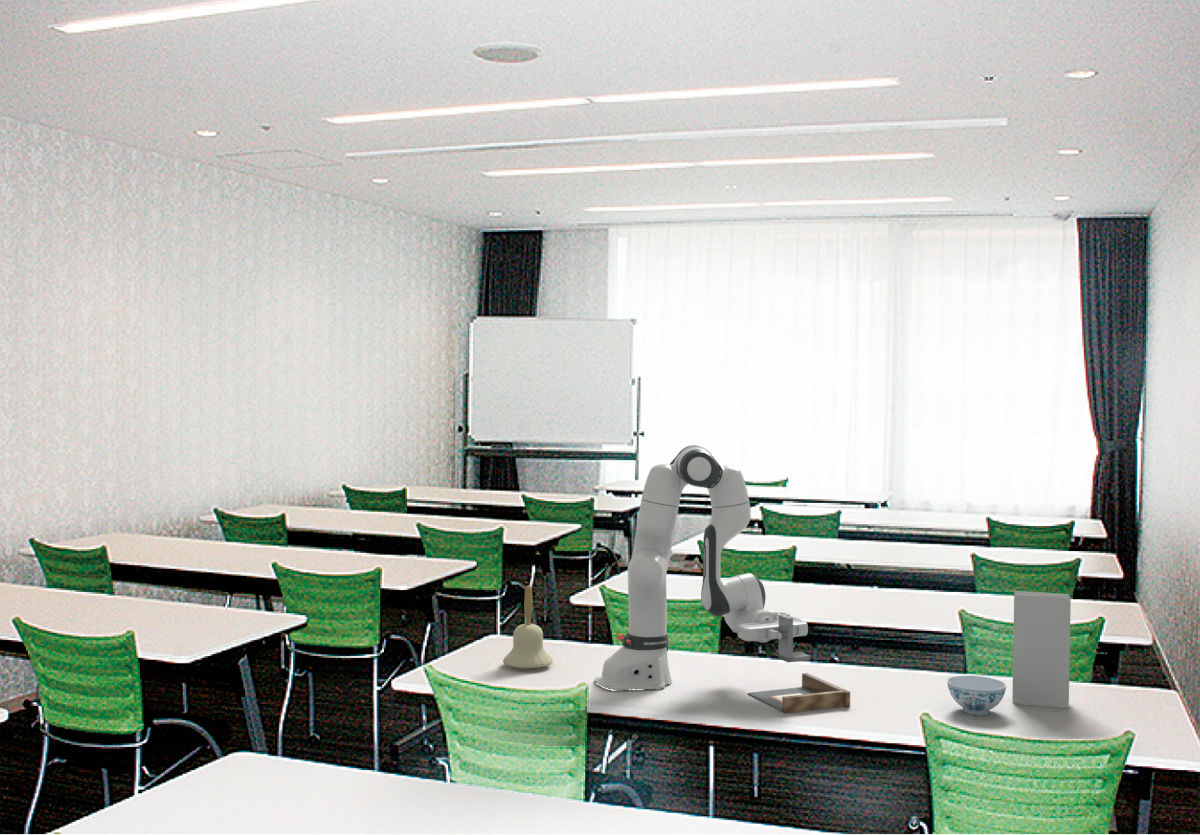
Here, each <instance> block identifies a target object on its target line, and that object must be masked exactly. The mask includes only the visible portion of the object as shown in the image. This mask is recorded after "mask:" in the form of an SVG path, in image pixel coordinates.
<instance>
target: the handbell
mask: <svg viewBox="0 0 1200 835" xmlns="http://www.w3.org/2000/svg"><path fill="white" fill-rule="evenodd" d="M523 603H524V604H523V606H524V607H523V608H524V609H523V610H524V617H525V618H524V619H525V623H523V624H520V625H517V626H516V627H515V629H514V631H513V634H512V636H513V637H512V640H513V642H512V643H513V645H512V648H511V650H510V651H509V652H508V653H507V654H506V656H504V658H503V659H502V663H503V664H504V665H506V666H508V667H511V668H516V669H517V668H518V669H536V668H537V669H538V668H543V667H547V666H550V665H551V664H553V662H554V659H553V657H552V656H551V655H550V654H549V653H548V652H547V651H546V650H545V649H544V644H543V642H544V632H543V630H542V627H540V626H539V625H537V624H534V623H532V617H533V616H532V615H533V589H532V586H531V585H526V586H525V591H524V602H523Z"/></svg>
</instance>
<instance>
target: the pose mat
mask: <svg viewBox="0 0 1200 835" xmlns="http://www.w3.org/2000/svg"><path fill="white" fill-rule="evenodd" d="M813 693H815V692H813V691H811V690H809V689H807V688H804V687H802V686H799V687H790V688H780V689H779V688H778V689H771V690H762V691H753V692H747V695H749V696H751V697H752V698H754V699H757V700H759V701H761V702H762V703H764V704H766V705H769V707H772V708H774V709H776V710H778V711H780V712H782V697H785V696H794V695H803V694H813Z"/></svg>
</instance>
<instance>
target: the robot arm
mask: <svg viewBox="0 0 1200 835" xmlns="http://www.w3.org/2000/svg"><path fill="white" fill-rule="evenodd" d="M743 475H744V474H743V473H742V471H741V469H739V467H736V466H733V465H730V464H729V465H728V464H727V465H726V464H725V465H720V462H718V461H717V460H716V458H715V457H714V456H713V454H712V453H711V452H710V451H709V450H708V449H707V448H705V447H703V446H700V445H694V444H693V445H688V446H685V447H684V448H682V449H681V450H680V451H679V452H678V454H676V456H675V457H674V458H673V459H672V460H671V462H670V463H669V464H667V463H660V464H655V465H654V466H653V467H651V469H650V470H649V472H648V475H647V478H646V481H645V483H644V487H643V491H642V495H641V500H640V506H639V511H638V515H637V523H636V526H635V527H636V528H635V535H634V541H633V548H632V554H631V557H630V558H631V559H630V561H629V562H628V566H627V593H628V597H627V598H628V632H627V633H626V634H625V635H624V634H622V633H618V634H617V636H616V640H618V641H619V642H622V646H621V647H620V648H618V650H616V651H615V652H614V653H613V654H612V655H610V656H609V657H608V658H606V659H605V661H604V663H603V666H602V667H603V668H602V673H601V675H599V676H596V677H594V682H595V681H596V683H598V684H599V685H601V686H603V687H605V688H608V689H613V690H629V689H631V690H632V689H636V690H635V691H638V690H637V689H656V690H662V689H661V688H664V689H665V688H666V686H665V685H667V684H669V683H670V684H672V682H673V680H672V677H671V673H670V668H669V660H668V651H669V634H668V632H667V627H668V625H667V624H668V623H667V622H668V620H667V618H668V617H667V615H668V611H667V610H668V605H667V603H668V602H667V600H668V599H667V571H668V569H669V564H670V563H669V562H670V559H671V558H670V556H671V551H672V545H673V540H674V539H673V538H674V534H675V528H676V524H677V517H678V512H679V507H680V501H681V496H682V493H683V490H684V488H686V486H688V485H690V486H693V487H696V488H705V489H707V491H708V494H709V498H710V506H711V517H710V521H709V524H708V525H707V526H706V527H705V528H704V532H703V546H702V553H703V554H702V559H703V560H702V584H701V592H700V594H701V595H700V599H701V600H700V601H701V604H702V608H703V609H704V610H705V611H706V612H707V613H708V614H710V615H712V616H714V617H718V618H719V617H722V616H724V621H725V622H726V624H727V625H728V626H729V628H730V629H731V631H732V633H736V634H737V637H738V638H739V639H741V640H743V641H745V642H755V641H757V642H759V643H768V642H769V641H772V640H779V639H784V638H785V637H784V636H785V634H784V632H779V615H786V616H788V617H791V618H793V639H794V638H795V637H806V636H807V635H808V633H809V632H808V628H809V627H808V623H807V621H805V620H803V619H800V618H798V617H795V616H791V615H790V613H788V612H777V611H775V612H774V611H769V610H764V609H765V605H766V591H765V590H766V589H765V586H764V584H763V582H762V581H761V580H760V579H759V578H758V577H757V576H756V575H755V574H753V573H751V572H747V573H743V574H742V573H741V574H737V575H734V576H731V577H727V578H723V579H721V578H722V577H721V575H722V574H721V572H722V570H721V568H722V567H721V565H722V564H721V561H722V560H721V559H722V558H721V557H722V556H721V555H722V551H723V549H724V547H725V546H726V545H727V544H728V543H729V542H730V541H731V540H732V539H734V538H735V537H737V536H739V535H741V533H742V532H743V531H745V529H746V528H747V527H748V525H749V523H750V521H751V513H752V511H751V504H750V498H749V492H748V488H747V485H746V482H745V479H744V478H745V477H744V476H743ZM671 681H672V682H671ZM670 684H669V685H670ZM667 686H668V685H667Z"/></svg>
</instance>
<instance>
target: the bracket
mask: <svg viewBox="0 0 1200 835" xmlns="http://www.w3.org/2000/svg"><path fill="white" fill-rule="evenodd" d="M791 617H792V616H791ZM791 617H788V616H786V615H779V632H784V634H785V636H784V637H785V638H784V639H778V649H777V651H778V652H777V653H778V655H777V656H778V659H780V660H781V661H783V662H786V663H795V662H796V663H797V662H804V661H811V656H810V655H809V654H806V653H804V652H802V651H794V650H793V649H794V638H793V618H791Z"/></svg>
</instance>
